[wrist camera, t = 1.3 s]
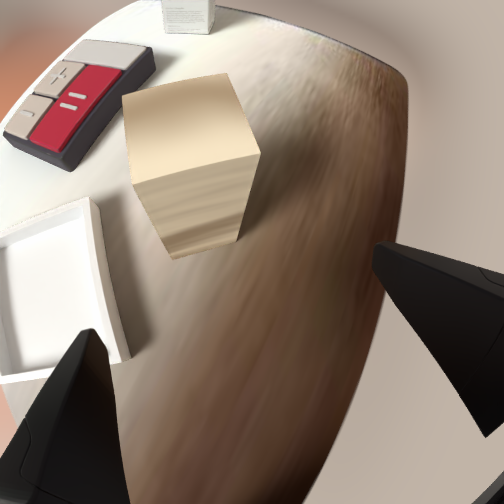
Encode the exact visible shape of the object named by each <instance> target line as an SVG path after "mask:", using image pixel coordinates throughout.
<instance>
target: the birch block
mask: <svg viewBox="0 0 504 504" xmlns="http://www.w3.org/2000/svg"><path fill="white" fill-rule="evenodd" d="M122 104H123V116H124V126H125V136H126V144H127V152H128V160H129V167H130V174H131V180H132V185H133V187H134V189H135V191H136V193H137V195H138V197H139V199H140V201H141V203H142V205H143V207H144V209H145V211H146V213H147V215H148V217H149V218H150V220H151V222H152V224H153V226H154V228H155V230H156V231H157V233H158V235H159V237H160V239H161V241H162V242H163V244H164V246H165V248H166V250H167V251H168V253H169V255H170V257H171V258H172V260H174V259H178V258H181V257H185V256H188V255H192V254H195V253H199V252H202V251H206V250H209V249H213V248H217V247H220V246H224V245H227V244H231V243H235V242H236V240H237V236H238V233H239V229H240V226H241V222H242V218H243V215H244V211H245V208H246V204H247V200H248V197H249V193H250V190H251V186H252V183H253V179H254V176H255V172H256V169H257V165H258V162H259V158H260V155H261V152H260V150H259V147H258V145H257V143H256V140H255V138H254V135H253V133H252V130H251V128H250V126H249V123H248V121H247V119H246V116H245V114H244V112H243V109H242V107H241V105H240V102H239V100H238V98H237V95H236V93H235V91H234V89H233V86H232V84H231V82H230V80H229V77H228V75H227V73H223V74H216V75H210V76H204V77H198V78H193V79H187V80H182V81H178V82H173V83H168V84H164V85H160V86H156V87H152V88H148V89H144V90H140V91H136V92H133V93H129V94H126V95H123V96H122Z"/></svg>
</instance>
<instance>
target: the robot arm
mask: <svg viewBox="0 0 504 504" xmlns="http://www.w3.org/2000/svg"><path fill="white" fill-rule="evenodd" d="M372 269H373V271H374V273H375V274H376V276H377V277H378V279H379V280H380V282H381V284H382V285H383V287H384V288H385V290H386V291H387V293H388V295H389V296H390V298H391V299H392V301H393V302H394V304H395V305H396V307H397V308H398V309H399V311H400V312H401V313H402V314H403V316H404V317H405V319H406V320H407V321H408V322H409V324H410V325H411V326H412V328H413V329H414V331H415V332H416V333H417V334H418V336H419V337H420V339H421V340H422V342H423V343H424V344H425V346H426V347H427V348H428V350H429V351H430V353H431V354H432V355H433V357H434V358H435V360H436V361H437V363H438V364H439V366H440V367H441V369H442V370H443V372H444V373H445V374H446V376H447V377H448V379H449V380H450V382H451V383H452V385H453V387H454V388H455V390H456V391H457V393H458V394H459V396H460V398H461V399H462V401H463V402H464V404H465V406H466V407H467V409H468V410H469V412H470V414H471V415H472V417H473V419H474V420H475V422H476V424H477V425H478V427H479V429H480V431H481V432H482V434H483V436H484V437H485V438H486V437H488V436H489V435H490V434H491V433H492V432H493V431H494V430H496V429H497V428H498V427H499V426H500V425H501V424H503V423H504V274H501V273H498V272H494V271H491V270H488V269H484V268H481V267H476V266H474V265H471V264H468V263H465V262H461V261H457V260H454V259H451V258H447V257H444V256H440V255H437V254H434V253H430V252H427V251H423V250H419V249H416V248H412V247H408V246H404V245H401V244H397V243H393V242H390V241H382V242H379V243H376V244H375V246H374V250H373V258H372ZM0 504H130V499H129V495H128V490H127V485H126V480H125V474H124V469H123V462H122V456H121V449H120V441H119V433H118V424H117V414H116V402H115V394H114V388H113V382H112V376H111V369H110V363H109V355H108V350H107V348H106V346H105V344H104V343H103V341H102V340H101V338H100V336H99V335H98V333H97V332H96V330H95V329H94V328H88V329H84V330H81V331H80V332H79V334H78V335H77V336H76V338H75V339H74V341H73V342H72V344H71V345H70V346H69V348H68V349H67V351H66V352H65V354H64V355H63V357H62V358H61V360H60V361H59V363H58V364H57V366H56V367H55V369H54V370H53V372H52V373H51V375H50V376H49V378H48V379H47V381H46V383H45V384H44V386H43V387H42V389H41V390H40V392H39V394H38V395H37V397H36V399H35V400H34V402H33V404H32V405H31V407H30V409H29V410H28V412H27V414H26V415H25V418H24V419H23V421H22V422H21V424H20V426H19V428H18V430H17V431H16V433H15V435H14V437H13V438H12V440H11V442H10V443H9V445H8V447H7V448H6V450H5V452H4V453H3V455H2V456H1V458H0ZM472 504H504V471H503V472H502V474H501V475H500V476H499V477H498V478H497V479H496V480H495V481H494V482H493V483H492V484H491V486H489V487H488V488H487V489H486V490H485V491H484V492H483V493H482V494H481V495H480V496H479V497H478V498H477V499H476V500H475V501H474V502H473V503H472Z"/></svg>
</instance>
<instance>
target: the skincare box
mask: <svg viewBox="0 0 504 504" xmlns="http://www.w3.org/2000/svg"><path fill="white" fill-rule="evenodd" d="M161 2H162V12H163V21H164V31H165V33H192V34H209V32H210V30H211V28H212V26H213V24H214V21H215V0H161Z"/></svg>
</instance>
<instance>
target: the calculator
mask: <svg viewBox="0 0 504 504" xmlns="http://www.w3.org/2000/svg"><path fill="white" fill-rule="evenodd" d="M155 70H156V67H155V62H154V56H153V51H152V48H151V47H145V46H139V45H133V44H126V43H118V42H109V41H98V40H82V41H81V42H80V43H79V44H78V45H77V46H76V47H75V48H74V49H72V50H71V51H70V52H69V53H68V54H67V55H66V56H65V57H64V59H63V60H62V61H59V62H58V63H57V64H56V65H55V66H54V67H53V68H52V69H51V70H50V71H49V72H48V74H47V75H46V76H45V77H44V78H43V79H42V80H41V81H40V82H39V84H38V85H37V86H36V87H35V88H34V92H33V93H32V94H30V95H29V96H28V97H27V98H26V99H25V101H24V102H23V103H22V104H21V106H20V107H19V108H18V110H17V111H16V112H15V114H14V115H13V116H12V118H11V119H10V121H9V122H8V123H7V125H6V126H5V128H4V129H5V131H4V132H3V136H4V137H5V138H6V139H7V140H8V141H9V142H10V143H11V144H12V145H13V146H14V147H15V148H17V149H19V150H22V151H24V152H26V153H28V154H30V155H33V156H35V157H37V158H39V159H41V160H44V161H46V162H48V163H50V164H53V165H55V166H57V167H59V168H61V169H64V170H66V171H68V172H72V171H74V170H75V168H76V167H77V165H78V164H79V162H80V161H81V159H82V158H83V157H84V155H85V154H86V152H87V151H88V150H89V148H90V147H91V145H92V144H93V143H94V141H95V140H96V139H97V137H98V136H99V135H100V133H101V132H102V131H103V129H104V128H105V127H106V125H107V124H108V123H109V121H110V120H111V119H112V118H113V116H114V115H115V114H116V112H117V111H118V110H119V109H120V107H121V106H122V105H123V104H122V96H123V95H126V94H129V93H133V92H136V90H137V89H138V88H139V87H140V86H141V85H142V84H143V83H144V82H145V81H146V80H147V79H148V78H149V77H150V76H151V75H152V74H153V73H154V72H155Z"/></svg>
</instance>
